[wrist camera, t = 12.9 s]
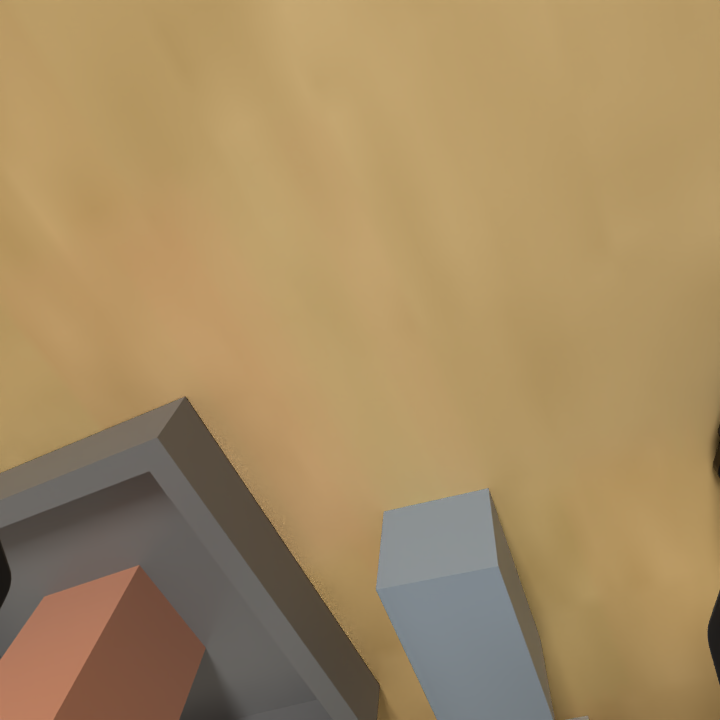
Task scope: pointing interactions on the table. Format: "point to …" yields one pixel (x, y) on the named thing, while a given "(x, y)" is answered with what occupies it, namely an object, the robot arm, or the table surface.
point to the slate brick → (462, 610)
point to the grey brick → (580, 718)
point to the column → (101, 655)
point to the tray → (183, 565)
